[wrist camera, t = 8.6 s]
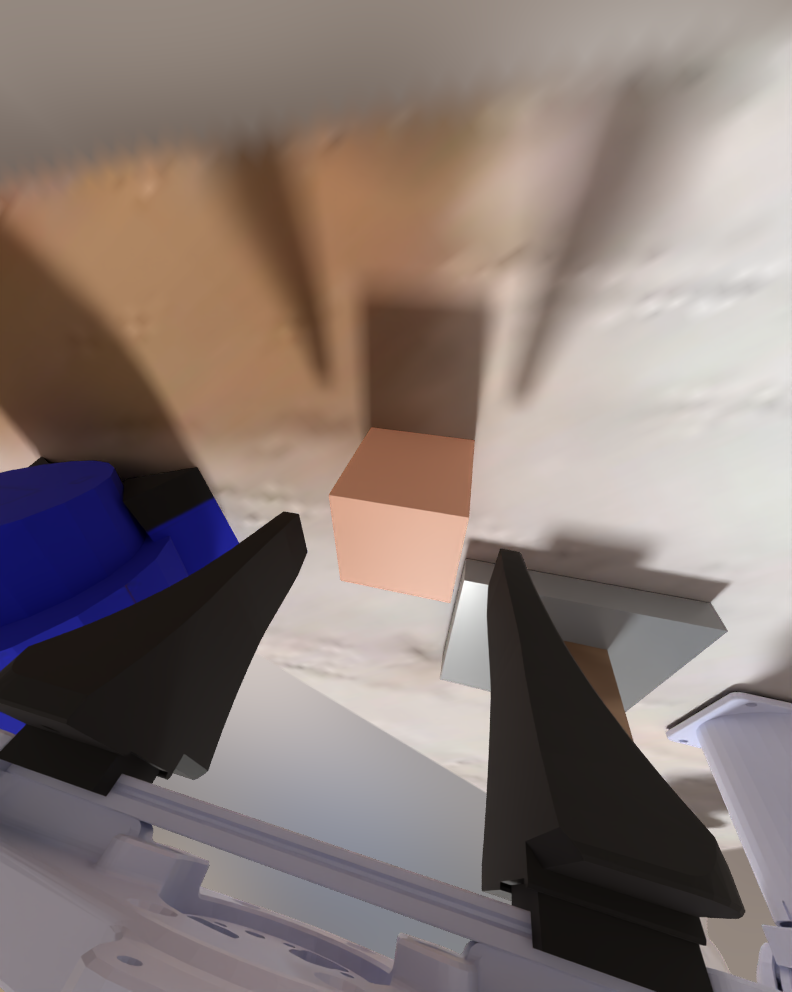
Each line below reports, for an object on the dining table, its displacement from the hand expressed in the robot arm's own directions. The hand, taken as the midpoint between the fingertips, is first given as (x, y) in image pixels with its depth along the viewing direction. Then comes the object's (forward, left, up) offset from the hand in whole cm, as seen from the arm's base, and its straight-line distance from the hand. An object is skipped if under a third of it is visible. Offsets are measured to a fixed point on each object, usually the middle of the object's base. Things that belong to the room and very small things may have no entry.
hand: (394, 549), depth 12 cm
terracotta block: (0, 0, -5) cm, 5 cm away
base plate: (-9, +11, -5) cm, 15 cm away
